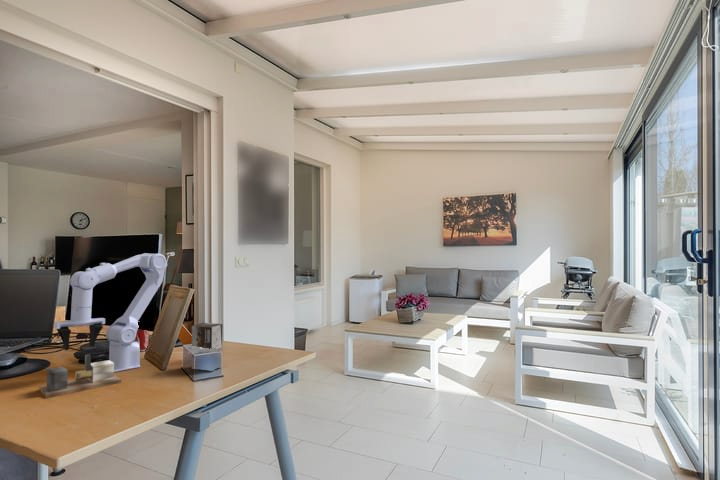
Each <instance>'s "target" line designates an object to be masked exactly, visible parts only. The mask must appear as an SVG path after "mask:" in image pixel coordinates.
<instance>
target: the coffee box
mask: <svg viewBox="0 0 720 480" xmlns="http://www.w3.org/2000/svg"><path fill="white" fill-rule="evenodd" d="M192 346H196V347H202V348H209V349H210V348H211V349H212V348H216V349H218V350H219V351H221V355H222V356H223V323H213V322H200V323H197V324H194V325H191V347H192Z"/></svg>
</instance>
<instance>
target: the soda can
mask: <svg viewBox="0 0 720 480" xmlns="http://www.w3.org/2000/svg"><path fill="white" fill-rule="evenodd" d="M149 331H150V330H149ZM149 331H147V330H140V329H138V330H137V333H136V337H135V339H134V342H138V344H139V347H140V351H141V352H146V351H147V350H146V348H147V346H148V347H149V343H150V342H149V337H150V335H149V333H150V332H149ZM145 350H146V351H145Z"/></svg>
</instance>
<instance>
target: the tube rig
mask: <svg viewBox="0 0 720 480" xmlns="http://www.w3.org/2000/svg"><path fill="white" fill-rule="evenodd" d="M92 368H93V377H92V378H87V379H82V380H77V381H76V379H72V380H68V369H67V368H66V367H64V366H57V367H51V368H47V369H46V384H45V385H41V386H40V385H39V386H38V387H39V388H38V390H39V391H40V392H41V394H42V395H43V396H44V397H45V399H48V398H54V397H58V396H63V395H67V394H68V395H69V394H73V393H77V392H82V391H86V390H87V391H88V390H92V389H95V388H101V387H106V386H111V385H115V384H120V383H122V378H120V377H119V376H118V375H116V374H115V372H114V363H113V362H112V361H110V360H101V361H95V362H91V369H92Z"/></svg>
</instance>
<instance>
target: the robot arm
mask: <svg viewBox="0 0 720 480" xmlns="http://www.w3.org/2000/svg"><path fill="white" fill-rule="evenodd" d="M137 267H139V268H140V269H141V271H142V273H143V274H144V276H145V281H144V283H142V286H141V287H140V289H139V290H138V292H137V293H136V295H135V296H134V298H133V300H132V301H131V303H130V304H129V306H128V307H127V309H126V310H125V312H124V313H123V315H122V316H120V317H119V318H117V319H116V320H115V321H114V322H113V323H112V324H111V325H110V326H108V328H107V329H106V331H105V337H106V339H107V340H108V341H109V342H108V343H109V345H108V347H109V349H108V350H109V352H108V353H109V354H108V355H109V356H108V359H109V360H110V361H112V362H113V363H114V373H116V372H121V371H127V370H131V369H137V368H141V365H140V363H141V362H140V361H141V360H140V358H141V357H140V356H141V352H140V347H139V344H138V342H135V337H136V333H137V330H138V328H139V325H138V322H139V320H140V319H141V317H142V315H143V314H144V312H145V310H146V309H147V307H148V306H149V304H150V302H151V301H152V299H153V297H154V296H155V294H156V293H157V291H158V290H159V288H160V286H161V285H162V283H163V282H164V276H165V272H166V271H165V270H166V268H167V267H168V262H167V258H166V257H165V255H164V254H162V253H148V252H147V253H146V252H144V253H142V254H137V255H134V256H130V257H129V258H126V259H123V260H121V261H118V262H117V263H114V264H111V263H109V262H100V263H99V265H98V266H94V267H92V268H91V267H88V268H85V271H76V272H74V273H73V274H72V276H70V279H68V280H69V281H68V282H69V285H70V287H72V294H71V308H70V310H71V311H70V320H64V321H63V320H61V321H55V322H54V327H53V328H54V329H55V330H56V331H57V333H58V335H59V336H60V339H61V342H62V347H63V350H64V351H68V350H69V348H70V337H71V332H72V329H70V328H74V327H84V326H88V327H89V343H88V344H89V347H92V348H93V347H95V344H96V341H97V339H98V336H99V335H100V333H101V331H102V330H103V328H104V325H105V324H106V318H104V317H97V318H92V308H93V307H92V305H93V289H94V287H95V286H96V285H98V284H100V283H101V284H102V283H103V282H106V281H109V280H112V279H115V277H116V275H117V274H118V273H121V272H124V271H127V270H130V269H134V268H137Z"/></svg>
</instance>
